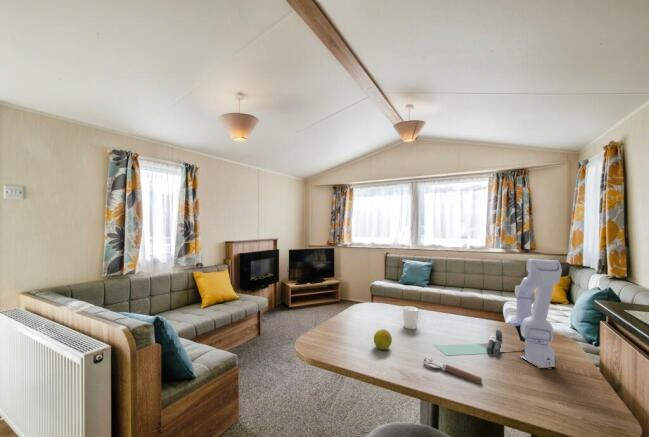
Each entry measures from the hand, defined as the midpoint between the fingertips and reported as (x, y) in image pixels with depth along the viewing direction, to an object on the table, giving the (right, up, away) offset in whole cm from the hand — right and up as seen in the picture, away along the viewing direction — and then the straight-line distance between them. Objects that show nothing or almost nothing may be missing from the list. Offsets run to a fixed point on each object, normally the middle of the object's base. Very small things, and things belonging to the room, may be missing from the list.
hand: (523, 341), depth 127 cm
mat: (-22, -2, -3) cm, 23 cm away
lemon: (-67, -1, -5) cm, 67 cm away
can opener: (-15, -2, -2) cm, 15 cm away
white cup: (-47, -2, +20) cm, 51 cm away
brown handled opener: (-45, -2, -23) cm, 51 cm away
